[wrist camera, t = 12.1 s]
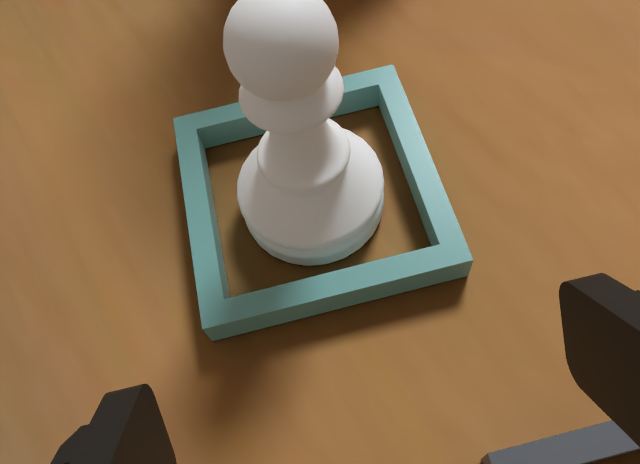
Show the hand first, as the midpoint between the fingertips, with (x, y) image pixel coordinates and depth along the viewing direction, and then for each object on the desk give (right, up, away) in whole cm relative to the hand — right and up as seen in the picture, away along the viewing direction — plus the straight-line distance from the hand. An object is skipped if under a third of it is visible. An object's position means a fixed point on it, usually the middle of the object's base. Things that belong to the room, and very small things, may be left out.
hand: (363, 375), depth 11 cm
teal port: (-1, +4, +10) cm, 11 cm away
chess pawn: (-1, +4, +10) cm, 11 cm away
